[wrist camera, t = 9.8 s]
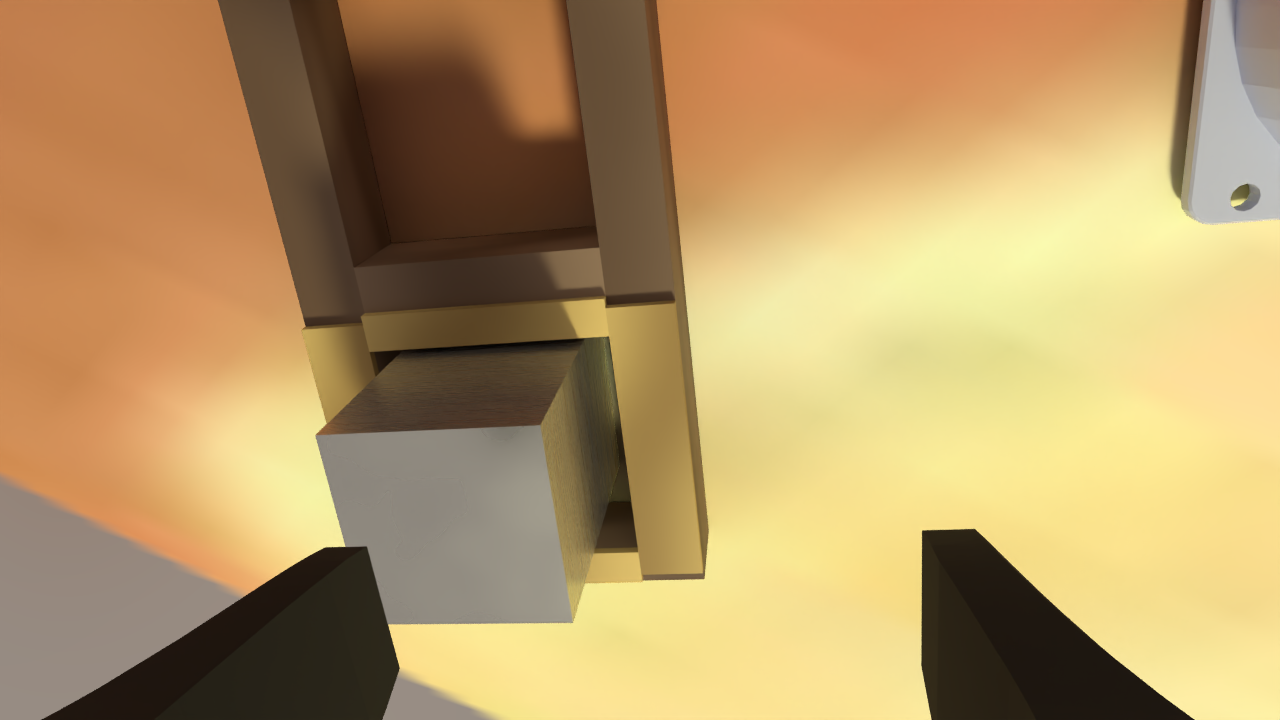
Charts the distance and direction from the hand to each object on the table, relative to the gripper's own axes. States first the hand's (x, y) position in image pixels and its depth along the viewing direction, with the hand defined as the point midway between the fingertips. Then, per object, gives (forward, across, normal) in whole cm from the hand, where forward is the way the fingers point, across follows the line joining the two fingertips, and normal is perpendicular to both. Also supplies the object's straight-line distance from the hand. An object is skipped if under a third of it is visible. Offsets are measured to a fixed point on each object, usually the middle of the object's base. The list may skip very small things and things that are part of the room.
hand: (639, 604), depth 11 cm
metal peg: (+10, +4, +1) cm, 10 cm away
